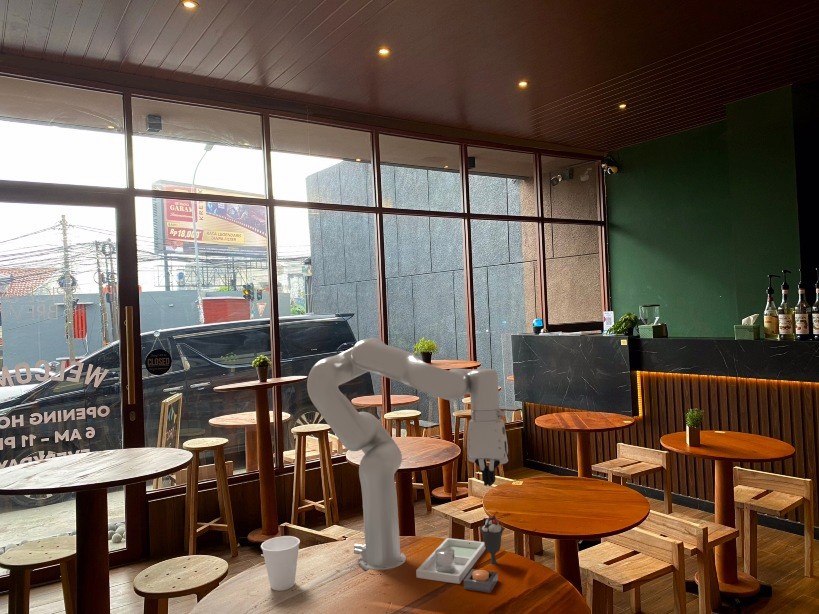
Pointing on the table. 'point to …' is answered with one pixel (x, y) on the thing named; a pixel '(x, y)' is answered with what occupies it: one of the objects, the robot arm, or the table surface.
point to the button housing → (480, 582)
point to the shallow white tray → (463, 561)
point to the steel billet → (445, 560)
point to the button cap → (480, 575)
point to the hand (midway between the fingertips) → (489, 484)
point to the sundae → (492, 536)
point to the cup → (281, 561)
